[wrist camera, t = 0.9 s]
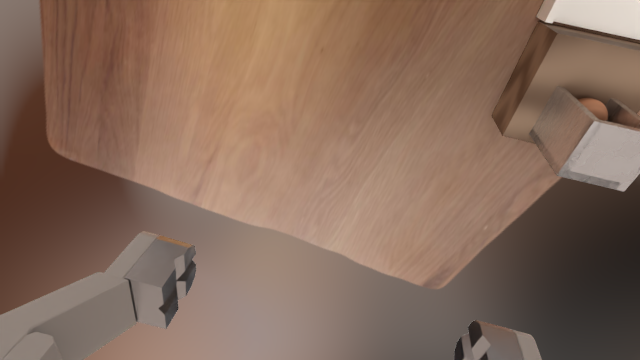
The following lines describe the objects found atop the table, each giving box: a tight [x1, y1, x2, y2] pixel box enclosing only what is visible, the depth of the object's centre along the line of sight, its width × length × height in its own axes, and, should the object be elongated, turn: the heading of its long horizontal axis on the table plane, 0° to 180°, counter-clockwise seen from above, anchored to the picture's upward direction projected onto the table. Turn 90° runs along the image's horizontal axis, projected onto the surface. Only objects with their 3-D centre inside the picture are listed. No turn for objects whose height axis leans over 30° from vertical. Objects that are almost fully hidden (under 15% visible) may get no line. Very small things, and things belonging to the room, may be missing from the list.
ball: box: [578, 98, 608, 121], centre depth 38 cm, size 4×4×4 cm
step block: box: [492, 21, 640, 143], centre depth 42 cm, size 12×12×6 cm
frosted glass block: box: [529, 86, 640, 191], centre depth 37 cm, size 6×7×9 cm
